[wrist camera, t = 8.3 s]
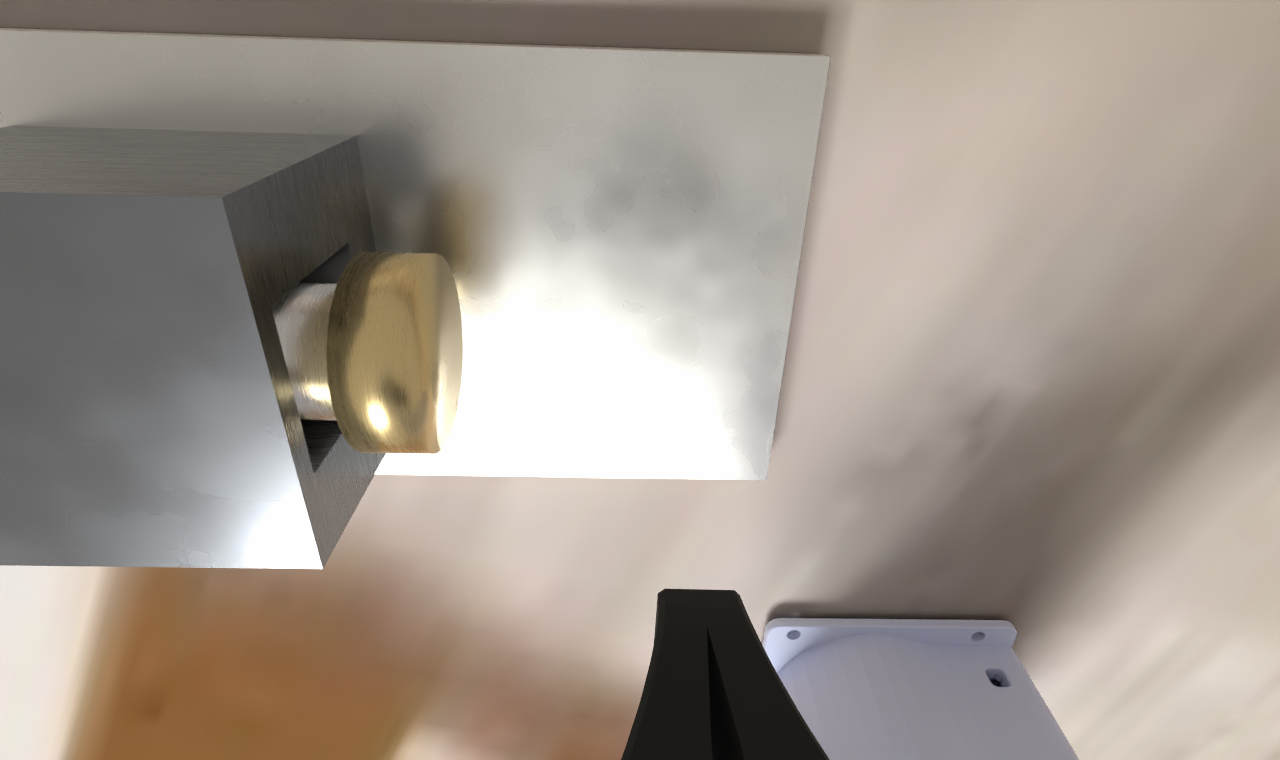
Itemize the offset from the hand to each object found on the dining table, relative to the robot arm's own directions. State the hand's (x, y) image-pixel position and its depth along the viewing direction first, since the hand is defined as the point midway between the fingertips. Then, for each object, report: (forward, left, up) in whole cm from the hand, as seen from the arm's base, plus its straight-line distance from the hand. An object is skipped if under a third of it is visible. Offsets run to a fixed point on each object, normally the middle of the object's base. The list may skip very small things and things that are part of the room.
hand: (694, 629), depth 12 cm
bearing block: (+8, -3, -10) cm, 13 cm away
